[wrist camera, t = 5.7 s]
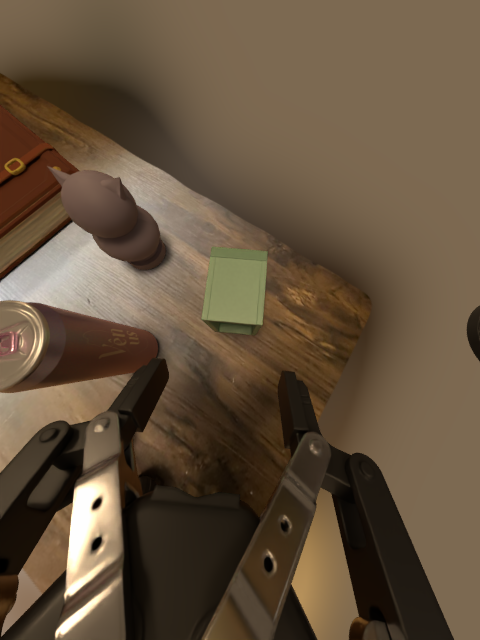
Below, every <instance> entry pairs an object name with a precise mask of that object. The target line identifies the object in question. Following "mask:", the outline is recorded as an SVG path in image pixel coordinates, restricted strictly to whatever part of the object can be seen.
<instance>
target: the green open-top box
mask: <svg viewBox="0 0 480 640" xmlns="http://www.w3.org/2000/svg"><path fill="white" fill-rule="evenodd" d="M267 256H268V251H259V250H247V249H235V248H223V247H212V249H211V257H210V262H209V269H208V276H207V283H206V290H205V297H204V304H203V311H202V318H201V319H202V320H203V321H204V322H205V323H206V324H207V325H208V326H209V327H211V328H212V329H213V330H214V331H215V332H224V333H235V334H245V335H256V333H257V332H258V331H259V329H260V328H261V326H262V325H263V313H264V299H265V285H266V271H267Z"/></svg>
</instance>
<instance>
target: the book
mask: <svg viewBox="0 0 480 640" xmlns="http://www.w3.org/2000/svg"><path fill="white" fill-rule="evenodd" d="M47 166H49V167H51V168H54V169H56V170H59V171H61V172H64V173H67V174H69V175H72V174H74V173H76V172H79V170H78V169H77V168H75V167H74V166H73V165H72V164H71V163H69V162H68V161H67V160H66V159H65V158H63V157H62V156H61V155H60V154H59V153H58V152H57V151H56V150H55V148H53V147H52V146H51V145H50V144H48V143H45V142H44V141H43V140H42V139H40V138H39V137H38V136H37V135H36V134H34V133H33V132H32V131H31V130H29V129H28V128H27V127H26V126H25V125H23V124H22V123H21V122H20V121H19V120H17V119H16V118H15V117H14V116H13V115H11V114H10V113H9V112H8V111H6V110H5V109H4V108H3V107H2V106H1V105H0V279H1V278H2V277H4V276H5V275H6V274H7V273H8V272H10V271H11V270H12V269H13V268H14V267H16V266H17V265H18V264H19V263H20V262H22V261H23V260H24V259H25V258H26V257H28V256H29V255H30V254H31V253H32V252H34V251H35V250H36V249H37V248H39V247H40V246H41V245H42V244H43V243H45V242H46V241H47V240H48V239H49V238H51V237H52V236H53V235H54V234H55V233H57V232H58V231H59V230H60V229H61V228H63V227H64V226H65V225H66V224H67V223H69V222H70V221H71V220H72V219H71V218H70V217H69V215H68V214H67V212H66V210H65V209H64V207H63V204H62V199H61V189H62V186H61V185H60V183H59V182H58V180H57V179H56V178H55V176H54V175H53V173H52V172H51V171H50V169H49V168H48V167H47Z"/></svg>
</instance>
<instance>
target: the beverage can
mask: <svg viewBox="0 0 480 640" xmlns="http://www.w3.org/2000/svg"><path fill="white" fill-rule="evenodd" d="M157 353H158V344H157V341H156V339H155V337H154V336H153V335H152V334H151V333H150V332H148V331H146V330H142V329H138V328H134V327H130V326H127V325H123V324H119V323H115V322H111V321H107V320H103V319H99V318H95V317H91V316H87V315H83V314H80V313H76V312H72V311H68V310H64V309H60V308H56V307H52V306H48V305H44V304H40V303H32V302H30V303H24V302H20V301H11V300H9V301H0V392H2V393H15V392H21V391H27V390H33V389H39V388H45V387H51V386H57V385H63V384H69V383H75V382H81V381H87V380H93V379H99V378H104V377H110V376H116V375H122V374H128V373H134V372H136V371H137V370H138V369H139V368H140V367H142V366H143V365H148V363H149V362H150V360H151V359H152V358H156V356H157Z"/></svg>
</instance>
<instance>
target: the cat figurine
mask: <svg viewBox="0 0 480 640" xmlns="http://www.w3.org/2000/svg"><path fill="white" fill-rule="evenodd" d="M47 167H48V168H49V169H50V171H51V172H52V173H53V175H54V176H55V178H56V179H57V180H58V182H59V183H60V185H61V186H62V189H61V199H62V204H63V207H64V209H65V210H66V212H67V214H68V215H69V217H70V218H71V219H72V221H73V222H75V223H76V224H77V225H78V226H80V227H81V228H82V229H84V230H85V231H87V232H88V233H91V234H92V236H93V238H94V240H95V242H96V243H97V245H98V246H99V248H100V249H101V250H103V251H104V252H105V253H107V254H108V255H109V256H111V257H113V258H116V259H119V260H122V261H127V262H128V263H130V264H131V265H132V266H133V267H135V268H137V269H140V270H149V269H153V268H154V267H156V266H158V265H159V264H160V263H161V262H162V261H163V259H164V257H165V253H166V248H165V244H164V243H163V241H162V240H161V238H160V232H159V228H158V225H157V223H156V221H155V220H154V219H153V217H152V216H151V215H150V214H149V213H148V212H147V211H146V210H144V209H143V208H141V207H139V206H137V205H136V202H135V200H134V198H133V196H132V195H131V194H130V192H129V191H128V190H127V188H126V187H125V186H124V185H123V184H122V182H121V179H120V177H119V178H113V177H111V176H109V175H107V174H104V173H101V172H98V171H89V170H84V171H79V172H76V173H74V174H72V175H69V174H67V173H64V172H61V171H59V170H56V169H54V168H51V167H49V166H47Z"/></svg>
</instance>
